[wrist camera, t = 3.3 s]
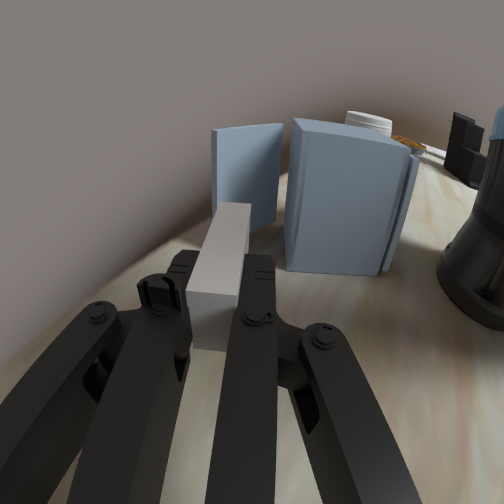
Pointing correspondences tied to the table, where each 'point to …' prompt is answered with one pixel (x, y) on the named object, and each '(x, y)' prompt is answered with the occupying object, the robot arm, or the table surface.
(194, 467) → the table surface
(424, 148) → the pie
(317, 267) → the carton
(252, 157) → the right flap
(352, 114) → the supplement tub
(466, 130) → the black stepped block
